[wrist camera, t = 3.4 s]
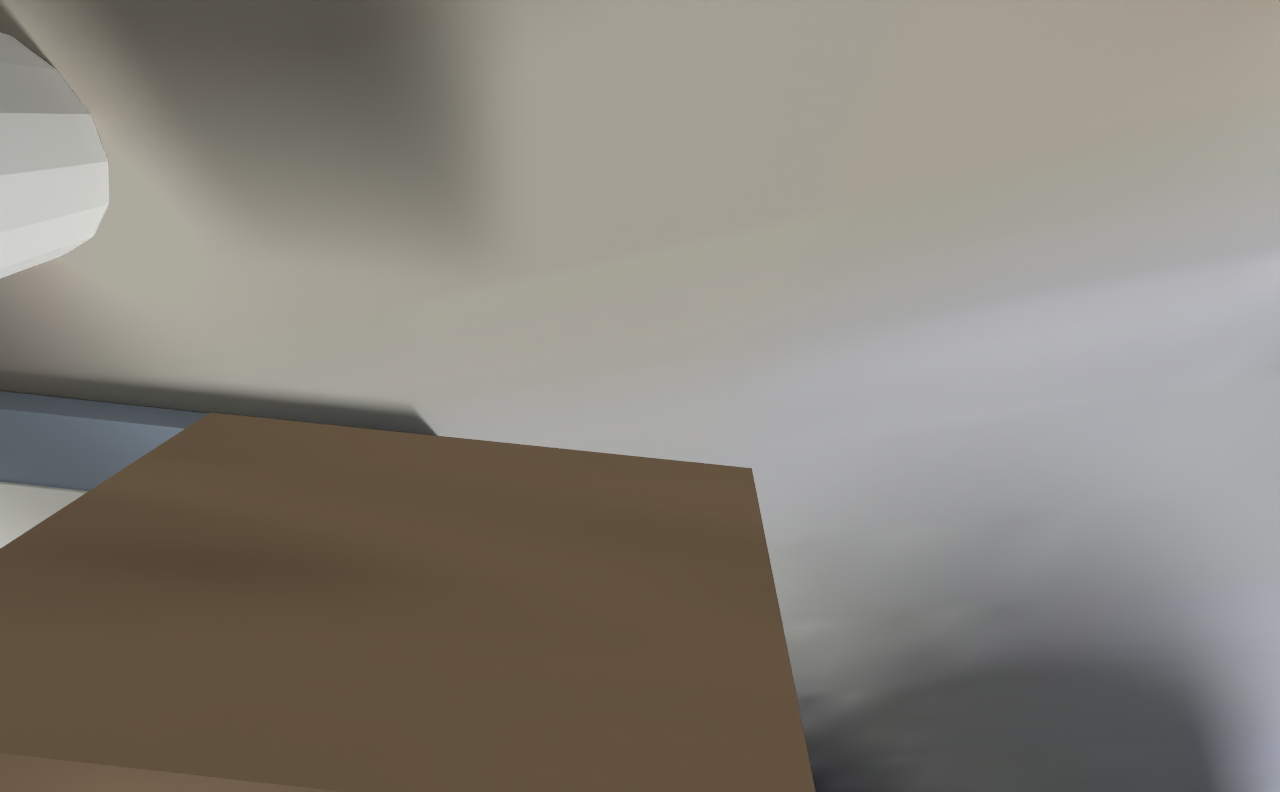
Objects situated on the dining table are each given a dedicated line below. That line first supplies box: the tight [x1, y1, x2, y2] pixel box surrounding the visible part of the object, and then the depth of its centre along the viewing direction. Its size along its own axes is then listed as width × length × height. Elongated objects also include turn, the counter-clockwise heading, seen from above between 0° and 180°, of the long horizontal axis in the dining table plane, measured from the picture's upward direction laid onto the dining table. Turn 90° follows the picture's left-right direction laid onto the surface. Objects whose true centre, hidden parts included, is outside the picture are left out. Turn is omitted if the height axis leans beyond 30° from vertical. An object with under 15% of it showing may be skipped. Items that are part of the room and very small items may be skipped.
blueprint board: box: [0, 391, 209, 548], centre depth 22 cm, size 14×22×1 cm, turn 85°
